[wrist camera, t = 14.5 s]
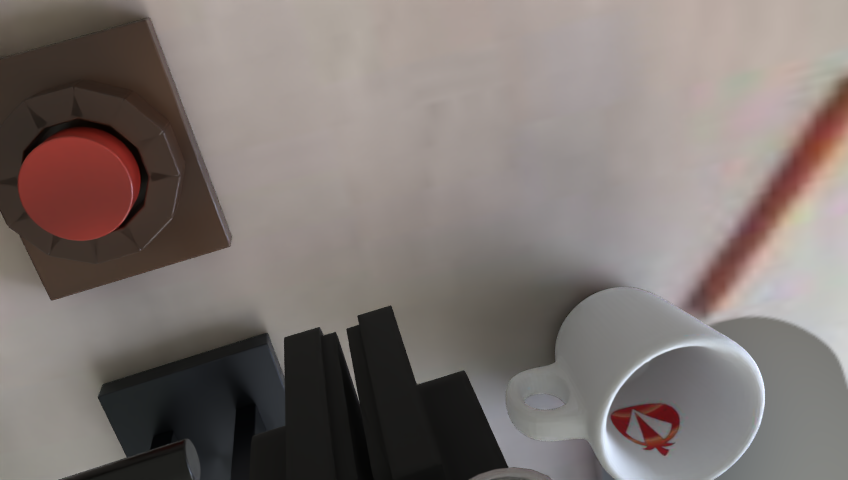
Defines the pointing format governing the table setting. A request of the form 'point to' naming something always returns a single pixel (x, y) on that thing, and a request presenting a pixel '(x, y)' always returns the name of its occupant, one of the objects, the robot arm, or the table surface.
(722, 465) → the cup
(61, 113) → the button block
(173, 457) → the lever
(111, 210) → the button
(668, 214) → the table surface
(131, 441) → the bracket
